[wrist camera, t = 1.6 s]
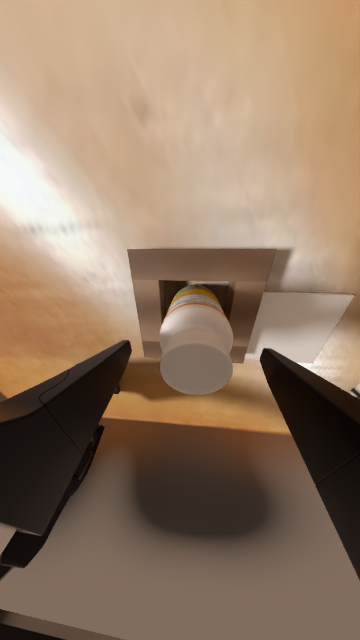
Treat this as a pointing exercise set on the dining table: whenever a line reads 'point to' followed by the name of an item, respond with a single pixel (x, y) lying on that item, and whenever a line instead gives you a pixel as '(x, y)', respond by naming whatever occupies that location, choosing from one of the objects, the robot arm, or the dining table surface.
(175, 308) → the supplement bottle
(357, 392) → the notebook
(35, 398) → the robot arm
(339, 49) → the dining table surface
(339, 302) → the coaster
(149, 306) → the block
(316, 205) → the dining table surface
